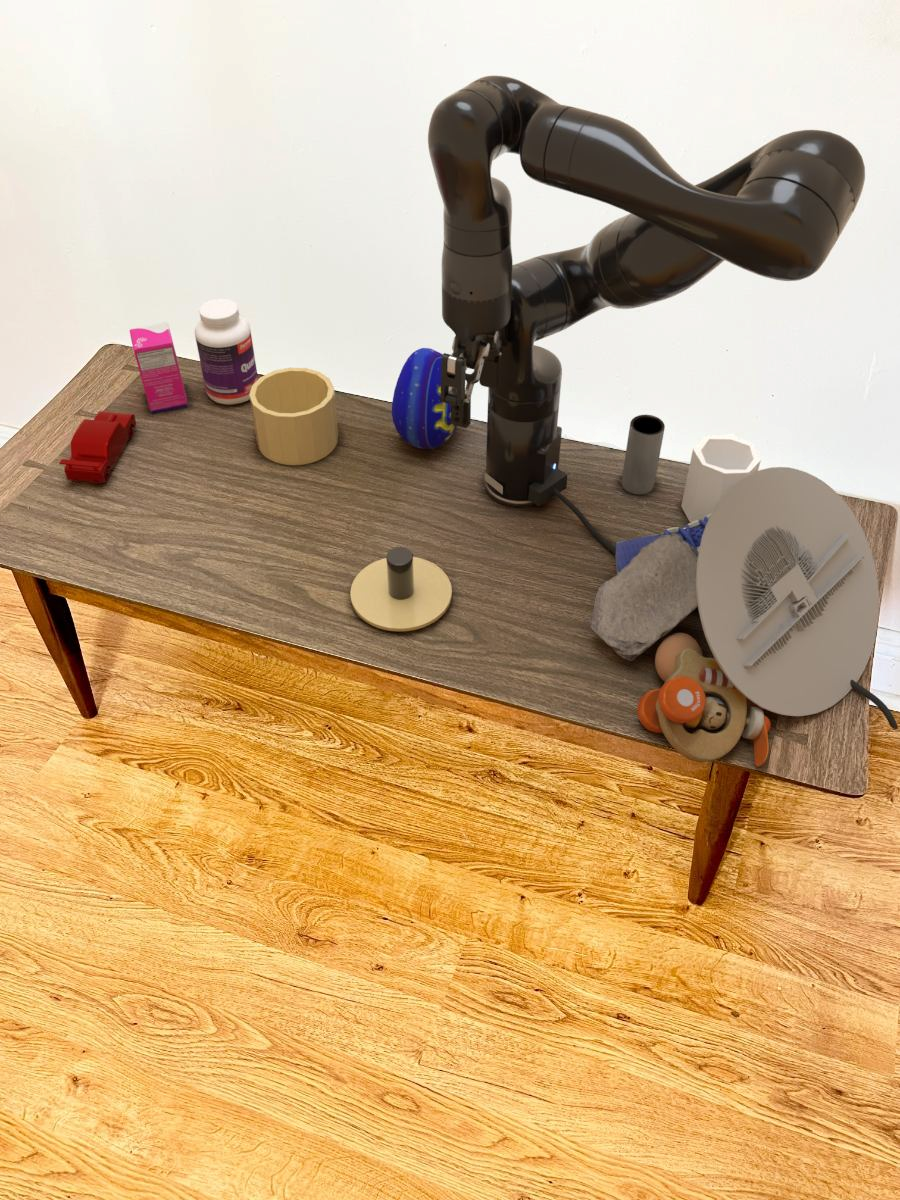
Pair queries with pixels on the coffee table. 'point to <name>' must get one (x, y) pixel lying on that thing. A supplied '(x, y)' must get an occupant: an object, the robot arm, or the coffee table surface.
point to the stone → (647, 596)
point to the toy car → (98, 446)
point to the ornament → (421, 402)
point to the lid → (401, 592)
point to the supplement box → (158, 367)
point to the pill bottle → (225, 352)
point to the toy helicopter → (703, 711)
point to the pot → (294, 415)
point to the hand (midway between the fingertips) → (475, 404)
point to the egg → (672, 653)
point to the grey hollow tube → (642, 454)
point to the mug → (716, 472)
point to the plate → (787, 591)
